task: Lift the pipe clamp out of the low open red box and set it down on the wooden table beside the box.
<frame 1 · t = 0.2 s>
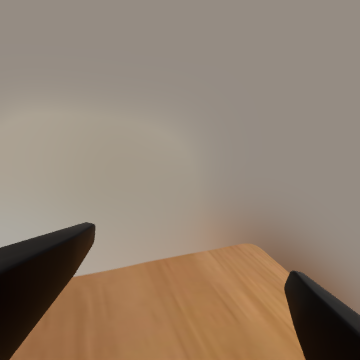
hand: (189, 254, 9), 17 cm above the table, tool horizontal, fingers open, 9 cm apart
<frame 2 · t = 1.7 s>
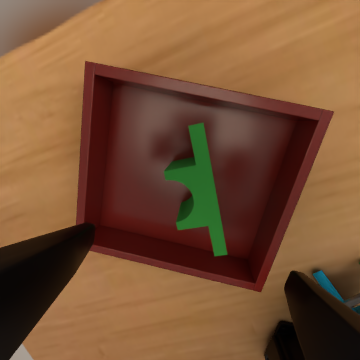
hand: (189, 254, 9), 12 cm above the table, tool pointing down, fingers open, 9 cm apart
pipe clamp: (195, 181, 20), resting on open red box
open red box: (186, 178, 21), on the table
blue toy dinosaur: (333, 288, 23), on the table
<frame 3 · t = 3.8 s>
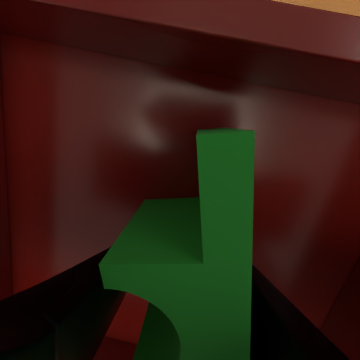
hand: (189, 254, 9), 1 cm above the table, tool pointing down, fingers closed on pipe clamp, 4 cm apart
pipe clamp: (190, 243, 10), resting on open red box, touching gripper
open red box: (172, 236, 10), on the table
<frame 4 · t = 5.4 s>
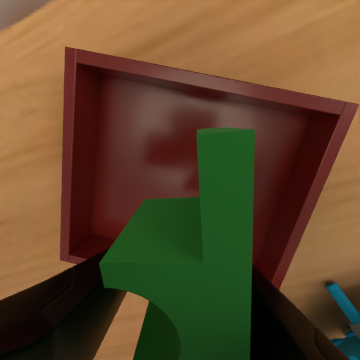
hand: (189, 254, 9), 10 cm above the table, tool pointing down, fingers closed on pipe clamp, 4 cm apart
pipe clamp: (190, 243, 10), point 9 cm above the table, touching gripper
open red box: (185, 181, 18), on the table
blue toy dinosaur: (347, 302, 20), on the table
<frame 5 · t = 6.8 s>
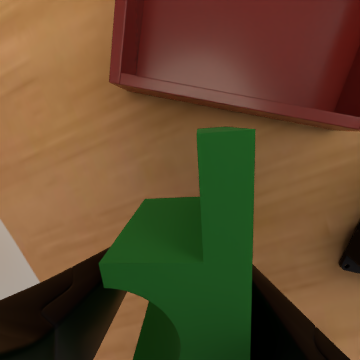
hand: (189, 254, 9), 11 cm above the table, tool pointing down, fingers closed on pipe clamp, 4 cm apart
pipe clamp: (190, 242, 10), point 10 cm above the table, touching gripper
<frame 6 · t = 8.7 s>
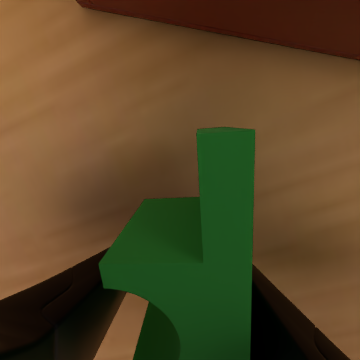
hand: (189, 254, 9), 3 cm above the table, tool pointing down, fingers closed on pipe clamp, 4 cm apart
pipe clamp: (190, 243, 10), point 2 cm above the table, touching gripper
when the fingers open (1 cm above the table, at t = 9.7 s): pipe clamp stays where it is, on the table.
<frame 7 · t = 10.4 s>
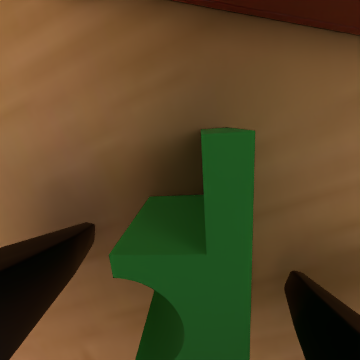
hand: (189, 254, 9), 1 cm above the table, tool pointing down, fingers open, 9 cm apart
pipe clamp: (193, 239, 10), on the table
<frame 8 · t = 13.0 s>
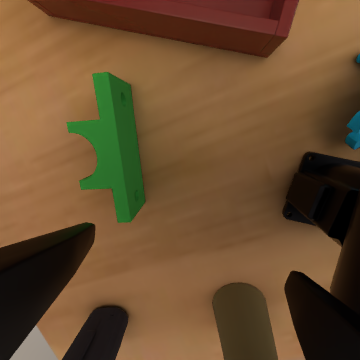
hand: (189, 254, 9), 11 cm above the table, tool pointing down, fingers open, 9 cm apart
pipe clamp: (121, 147, 19), on the table
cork: (238, 302, 23), on the table
two-way radio: (109, 310, 25), on the table
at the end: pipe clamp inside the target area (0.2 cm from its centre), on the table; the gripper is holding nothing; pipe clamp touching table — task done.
